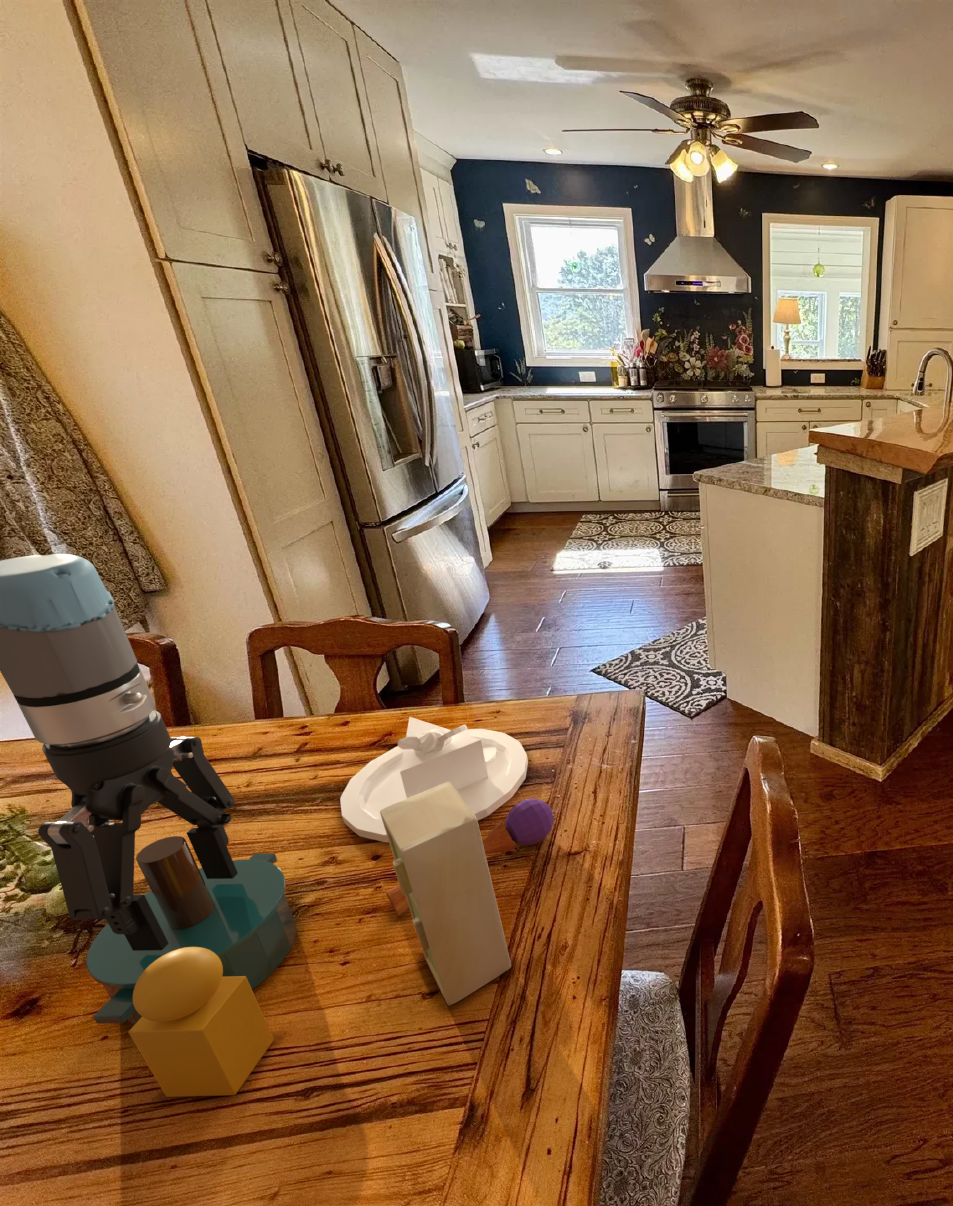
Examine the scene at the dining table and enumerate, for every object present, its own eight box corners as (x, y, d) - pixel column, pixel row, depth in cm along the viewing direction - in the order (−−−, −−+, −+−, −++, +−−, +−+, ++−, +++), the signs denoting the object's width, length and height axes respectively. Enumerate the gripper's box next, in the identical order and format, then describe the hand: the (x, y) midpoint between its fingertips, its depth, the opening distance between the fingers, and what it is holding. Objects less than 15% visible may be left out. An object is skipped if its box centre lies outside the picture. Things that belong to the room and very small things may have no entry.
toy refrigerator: (415, 962, 70) (370, 811, 62) (485, 923, 75) (451, 778, 67) (439, 1014, 65) (393, 857, 57) (512, 968, 70) (479, 818, 62)
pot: (49, 1059, 60) (18, 1013, 58) (217, 890, 78) (199, 849, 76) (209, 1055, 61) (185, 1009, 58) (339, 888, 79) (325, 848, 76)
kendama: (376, 873, 76) (534, 784, 89) (394, 912, 78) (546, 819, 91) (390, 894, 72) (553, 798, 85) (409, 934, 74) (566, 834, 87)
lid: (42, 994, 60) (-10, 915, 56) (181, 867, 74) (149, 797, 70) (214, 991, 61) (175, 912, 57) (319, 866, 75) (295, 796, 71)
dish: (556, 782, 98) (547, 721, 94) (370, 871, 82) (348, 801, 77) (490, 718, 114) (479, 662, 109) (322, 782, 97) (301, 719, 92)
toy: (162, 1101, 57) (98, 992, 52) (213, 1037, 62) (159, 932, 57) (232, 1099, 57) (176, 991, 52) (277, 1036, 63) (230, 931, 57)
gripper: (19, 804, 48) (134, 1006, 57) (234, 668, 67) (295, 835, 76) (-88, 805, 48) (45, 1008, 57) (160, 668, 67) (230, 836, 76)
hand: (188, 909), depth 66 cm, fingers open, 8 cm apart
